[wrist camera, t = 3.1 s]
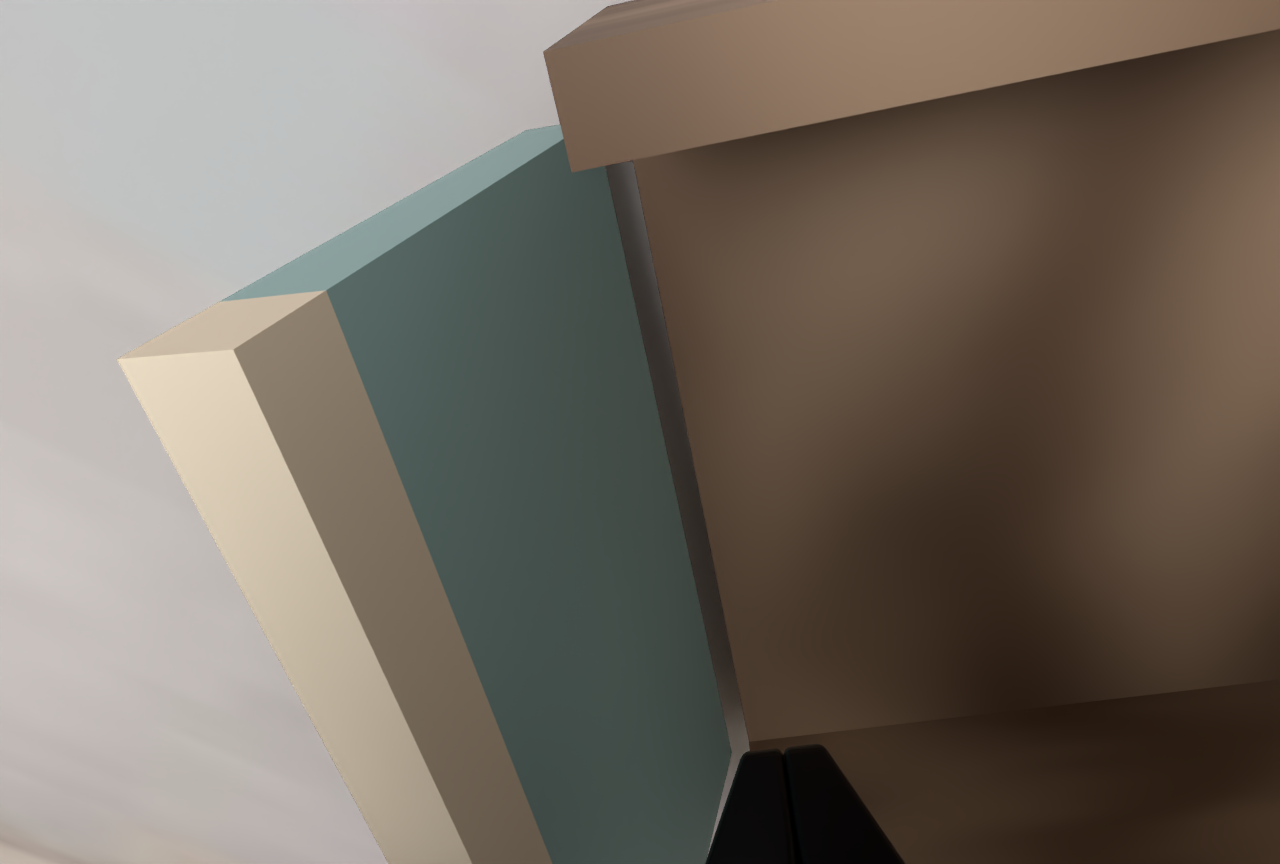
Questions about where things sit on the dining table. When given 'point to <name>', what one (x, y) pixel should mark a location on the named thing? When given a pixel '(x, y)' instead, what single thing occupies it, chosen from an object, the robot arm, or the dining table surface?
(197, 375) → the teal flat slab
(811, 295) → the crate
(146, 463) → the dining table surface
